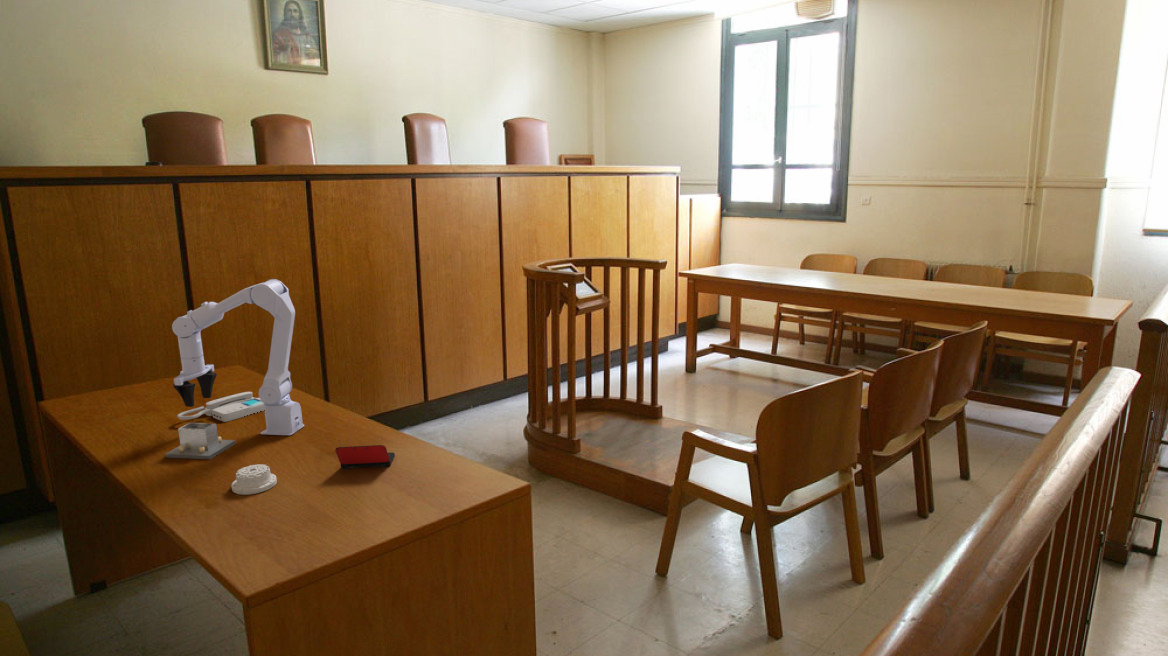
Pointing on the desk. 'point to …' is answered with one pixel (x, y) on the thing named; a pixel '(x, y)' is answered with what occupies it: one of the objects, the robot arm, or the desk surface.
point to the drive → (198, 436)
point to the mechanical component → (253, 479)
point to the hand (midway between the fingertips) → (198, 401)
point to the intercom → (228, 407)
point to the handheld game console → (364, 456)
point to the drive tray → (200, 451)
